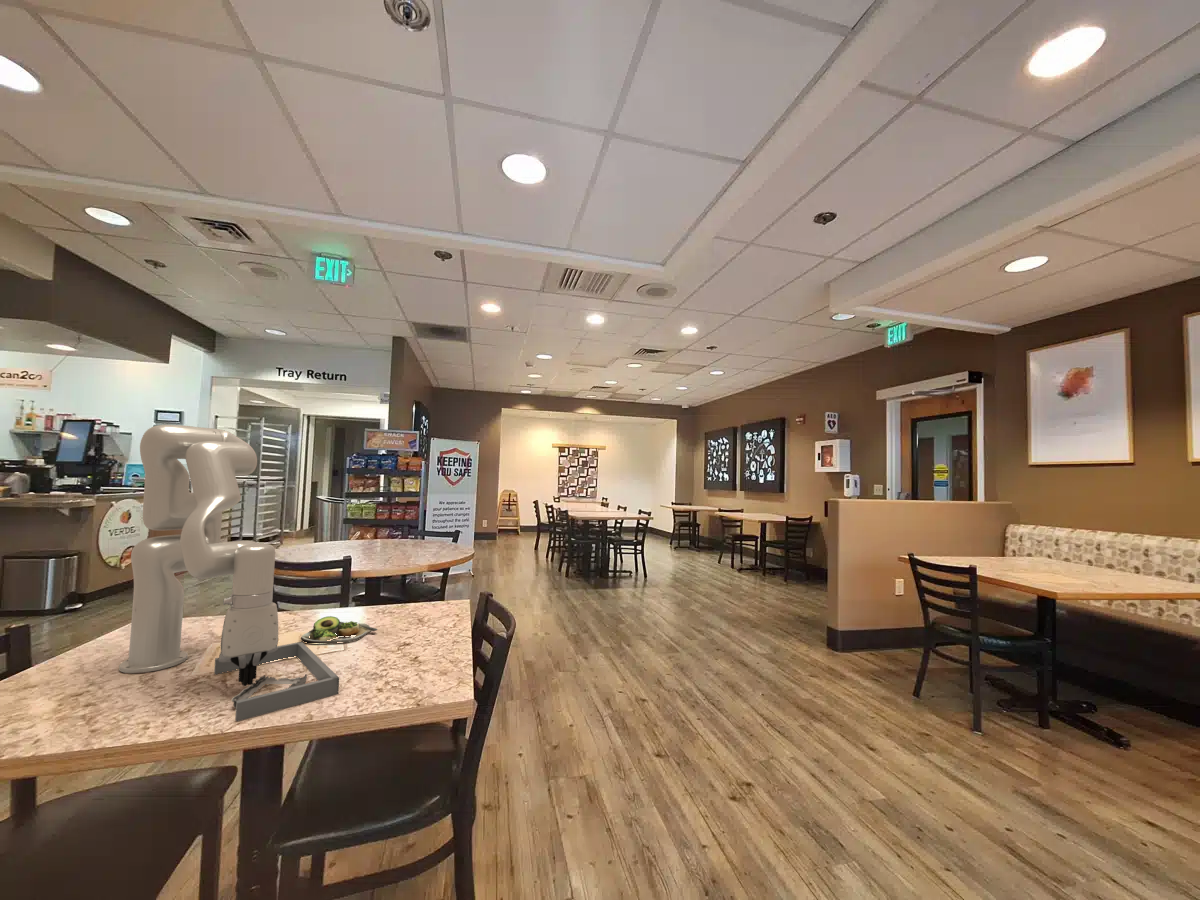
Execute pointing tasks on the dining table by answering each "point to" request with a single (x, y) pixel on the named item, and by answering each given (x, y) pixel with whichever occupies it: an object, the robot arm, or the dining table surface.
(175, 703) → the dining table surface
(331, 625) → the salad plate
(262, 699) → the box
